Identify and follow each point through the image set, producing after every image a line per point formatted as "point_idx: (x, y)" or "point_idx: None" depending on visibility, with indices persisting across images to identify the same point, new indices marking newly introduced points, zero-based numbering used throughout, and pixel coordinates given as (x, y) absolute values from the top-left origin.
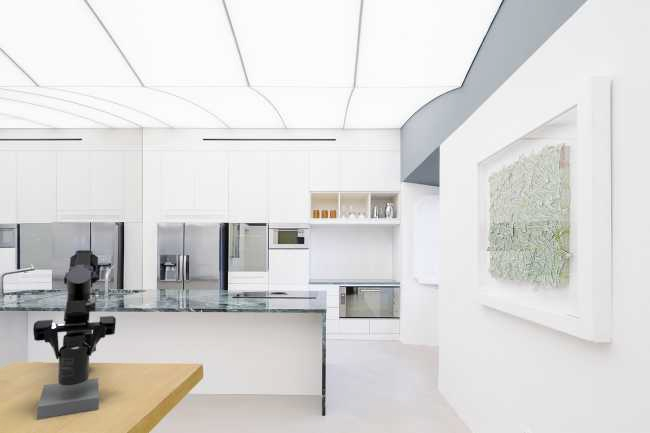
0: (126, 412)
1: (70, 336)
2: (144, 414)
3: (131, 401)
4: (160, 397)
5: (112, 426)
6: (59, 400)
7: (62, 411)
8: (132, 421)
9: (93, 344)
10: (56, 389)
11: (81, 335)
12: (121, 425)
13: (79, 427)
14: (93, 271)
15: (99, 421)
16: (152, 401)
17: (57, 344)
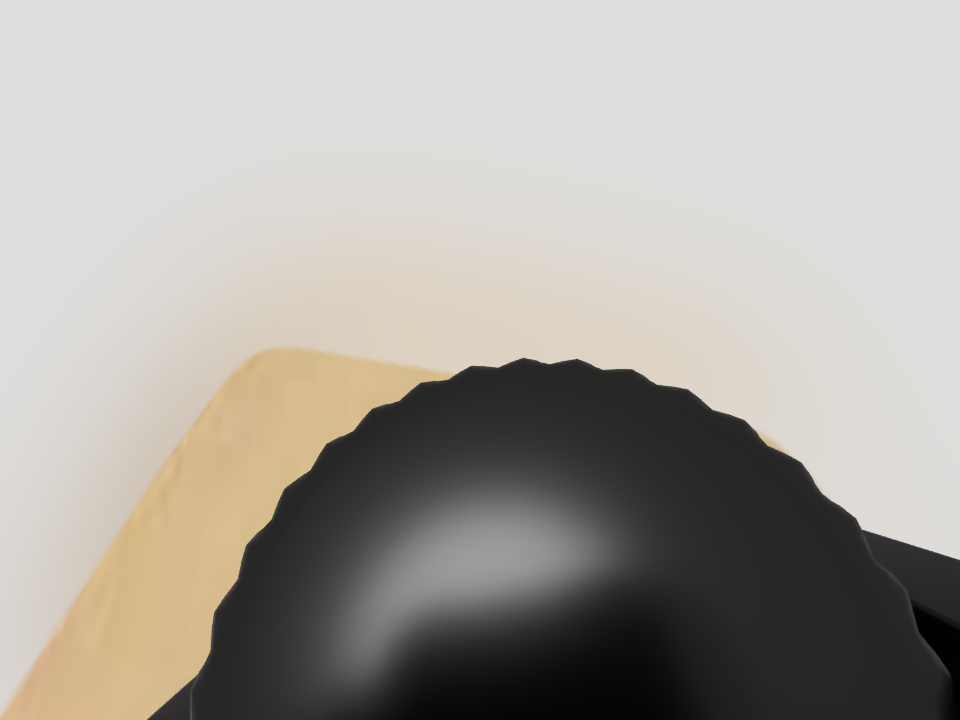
0: (253, 486)
1: (600, 410)
2: (184, 446)
3: (208, 647)
4: (45, 675)
5: (316, 358)
6: None
7: None
8: (241, 387)
9: (178, 703)
10: None
11: (303, 483)
12: (284, 361)
13: (438, 371)
14: None
15: (366, 411)
16: (106, 614)
17: (912, 592)
